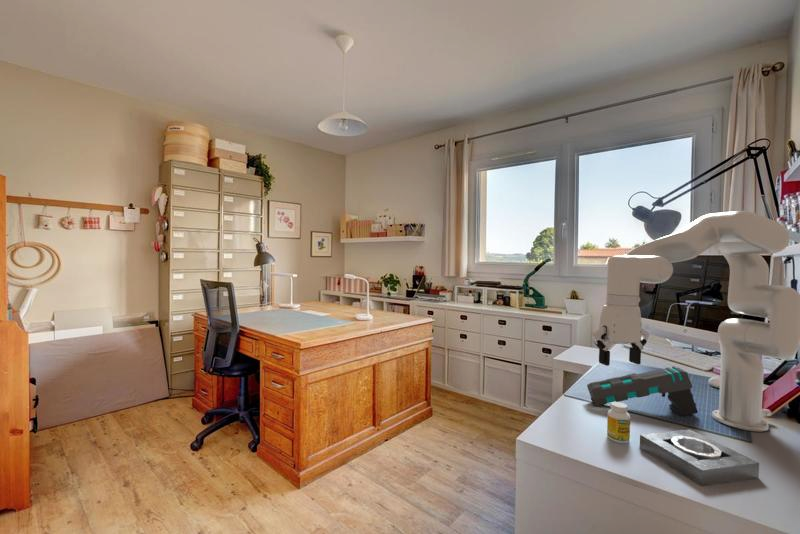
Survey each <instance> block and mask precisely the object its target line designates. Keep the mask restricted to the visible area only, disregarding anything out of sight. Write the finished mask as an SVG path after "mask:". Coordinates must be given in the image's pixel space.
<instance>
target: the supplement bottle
mask: <svg viewBox="0 0 800 534" xmlns="http://www.w3.org/2000/svg"><path fill="white" fill-rule="evenodd" d="M628 408H629V407H628V405H627V404H626V403H623V402H621V401H619V402H616V401H614V402H610V409H608V411H607V420H606V421H607V423H606V424H607V425H606V428H607V429H606V435H607V438H608V439H610V440H611V441H612V442H615V443H618V444H628V443H629V442H630V438H631V435H630V434H631V415H630V414H629V412H628Z"/></svg>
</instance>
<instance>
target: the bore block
mask: <svg viewBox="0 0 800 534" xmlns="http://www.w3.org/2000/svg"><path fill="white" fill-rule="evenodd" d="M639 448H640V449H641V450H643V452H644V451H645V452H646V453H648V454H649V455H651V456H653V457H654V458H655V459H657V460H659V461H660V462H662V463H664V464H665V465H667V466H668V467H670V468H672V469H674V470H675V471H677V472H678V473H679V474H681V475H683V476H685V477H687V478H688V479H690V480H691V481H692V482H694V483H696V484H697V485H699V486H701V487H703V486H711V485H718V484H725V483H733V482H738V481H745V480H752V479H759V476H760V475H759V473H760V462H759V461H756V460H755V459H752V458H750V457H748V456H746V455H745V454H742V453H740V452H738V451H736V450H734V449H732V448H729V447H728V446H725V445H723V444H721V443H719V442H716V440H713V439H711V438H709V437H707V436H705V435H703V434H701V433H699V432H696V431H694V430H692V429H691V428H690V429H680V430H673V431H672V430H671V431H670V430H669V431H663V432H661V431H660V432H654V433H653V432H651V433H642V434H640V435H639Z"/></svg>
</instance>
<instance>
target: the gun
mask: <svg viewBox="0 0 800 534" xmlns="http://www.w3.org/2000/svg"><path fill="white" fill-rule="evenodd" d="M586 386H587V390H588V393H589V397H590V400H591V403H592V404H593V405H595V407H598V406H605V405H607V404H608V403H610V404H611V402H624V401H628V399H634V398H643V397H647V396H650V395H652V394H658V393H659V394H661V397H663V398H665V397H667V400H668V401H670V404H669V405H668V406H669V409H670V410H671V411H673V412H674V413H676V415H679V416H680V417H685V416H689V415H695V414H698V413H699V412H698V408H697V404H696V402H695V400H694V394H693V393H692V391H691V389H693V384H692V381H691V380H690V377H689V374H688V372H687V371H685V370H683V369H681V368H680V367H676V366H671V368H670V367H665V368H664V369H663V368H660V369H656V370H651V371H646V372H642V373H634V372H633V373H630V374H629V373H628V374H626V375H621V376H616V377H612V378H606V379H604V380H600V381H593V382H589V383H587V384H586ZM666 393H667V396H666Z"/></svg>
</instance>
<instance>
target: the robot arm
mask: <svg viewBox="0 0 800 534" xmlns="http://www.w3.org/2000/svg"><path fill="white" fill-rule="evenodd" d="M790 239H791V236H790V232H789V231H788V229H787V227H785V226H784V225H783V224H782V223H779V222H777V221H776V220H772V218H771V219H770V218H768V217H766V216H763V215H760V214H758V213H755V212H752V211H747V210H735V211H734V210H733V211H732V210H731V211H723V212H722V211H721V212H713V213H707V214H705V215H701V216H700V217H698V218H697V219H694V221H691V222H690V223H688V224H686V225H685V226H684V227H682V228H680V229H679V230H677V231H676V232H673V233H672V234H669V235H665V236H663V237H659V238H656V239H654V240H651V241H648V242H646V243H643V244H641V245H638V246H636V247H633V248H632V249H630V250H629V251H627V252H625V253H624V254H623V255H612V256H610V257H608V260H607V273H606V274H607V275H606V276H607V277H606V279H607V280H606V297H605V298H606V301H605V304H604V305H603V306H602V309H601V312H600V313H601V314H600V318H599V323H598V324H599V326H598V329H596V330H595V331H592V333H591V337H592V340H593V343H594V345H595V346H596V348H597V349H598V350H599V351H598V363H599V364H600V365H604V366H607V367H608V366H610V364H611V363H610V362H611V351H609V350H610V348H611V347H612V346H613V345H616V344H617V345H621V344H622V345H625V344H627V345H628V344H629V345H630V347H629V352H628V353H629V356H628V358H629V359H628V360H629V362H630V363H633V364H635V365H641V363H642V361H641V360H642V359H641V358H642V351H643V350H644V346H645V345H646V344H647V342H648V338H649V336H650V332H648V331H647V330H645V329H644V328H642V327H643V326H642V323H643V322H642V314H641V313H642V312H641V308H640V306H639V303H640V302H641V297H640V285H641V284H640V283H643V284H662V283H665V282H666V281H668V280H670V278H671V277H672V275H673V273H674V266H673V264H672V263H679V262H684V261H689V260H692V259H695V258H697V257H698V256H700V255H701V254H703V253H705V252H706V251H707V250H709V249H711V248H713V247H714V248H715V249H717V250H718V252H719V253H720V254H722V255H723V257H724V258H725V260H726V261H727V263H728V265H729V281H728V290H727V291H728V292H727V306H728V308H729V309H730V311H732V312H734V313H736V314H741V315H747V316H752V317H759V318H765V319H768V320H769V322H767V321H759V320H755V319H747V318H737V317H735V318H733V317H732V318H727V319H725V320H724V321H723V320H722V321H721V322H720V324H718V325H719V326H718V329H717V337H718V342H719V348H720V370H719V371H720V372H719V373H720V376H719V395H718V396H719V397H718V398H719V400H718V409H715V410H713V411H711V416H712V418H713V419H714V420H716V421H717V422H719V423H722V424H724V425H727V426H730V427H731V428H734V429H735V428H736V429H738V430H739V429H740V430H743V431H749V432H750V431H751V432H759V433H760V432H766V431H768V430H769V423H768V422H766V421H765V420H764V419H763V418H764V417H770V416H772V411H771V410H770V409H768V408H763V396H764V395H763V394H764V393H763V392H764V391H763V390H764V389H763V388H764V375H765V374H764V373H765V370H764V364H763V363H762V361H761V359H760V357H759V356H758V355H760V356H764V357H769V358H774V359H779V360H789V359H792V357H794V356H795V355H796V354H797V352H799V351H798V350H799V347H800V293H799V291H798V290H796V289H795V288H793V287H790V286H785V285H778V284H777V285H776V284H770V283H769V277H770V275H769V274H770V268H769V264H768V263H767V261H766V260H765V258H764V257H763V256H762V255H763V254H766V255H769V254H777V253H780V252H782V251H784V250H785V249H786V248H787V247H788V245H789V243H790Z"/></svg>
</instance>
